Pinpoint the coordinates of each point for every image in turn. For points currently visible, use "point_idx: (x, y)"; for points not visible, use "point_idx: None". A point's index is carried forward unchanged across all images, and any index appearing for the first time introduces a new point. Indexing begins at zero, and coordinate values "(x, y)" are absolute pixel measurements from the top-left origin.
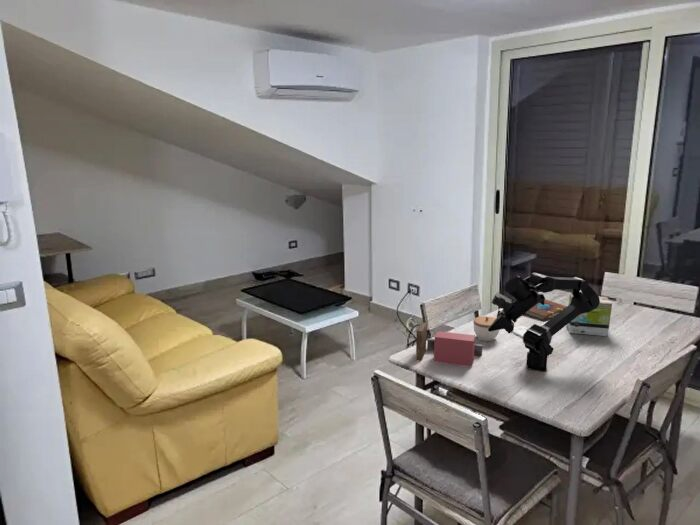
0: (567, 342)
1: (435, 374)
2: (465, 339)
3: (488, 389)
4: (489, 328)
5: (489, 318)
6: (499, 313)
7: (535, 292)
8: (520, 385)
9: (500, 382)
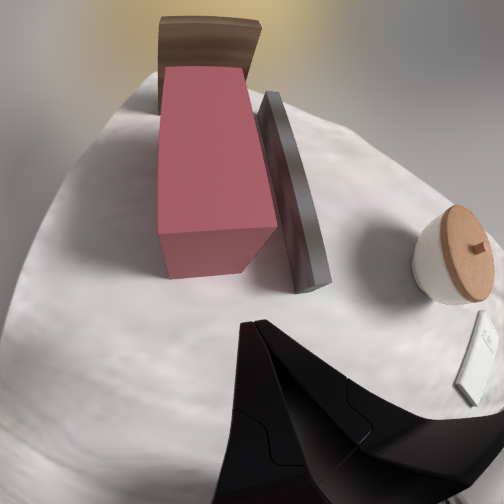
0: None
1: (70, 174)
2: (174, 181)
3: (18, 366)
4: (240, 342)
5: (485, 255)
6: (444, 499)
7: None
8: (97, 473)
9: (79, 409)
